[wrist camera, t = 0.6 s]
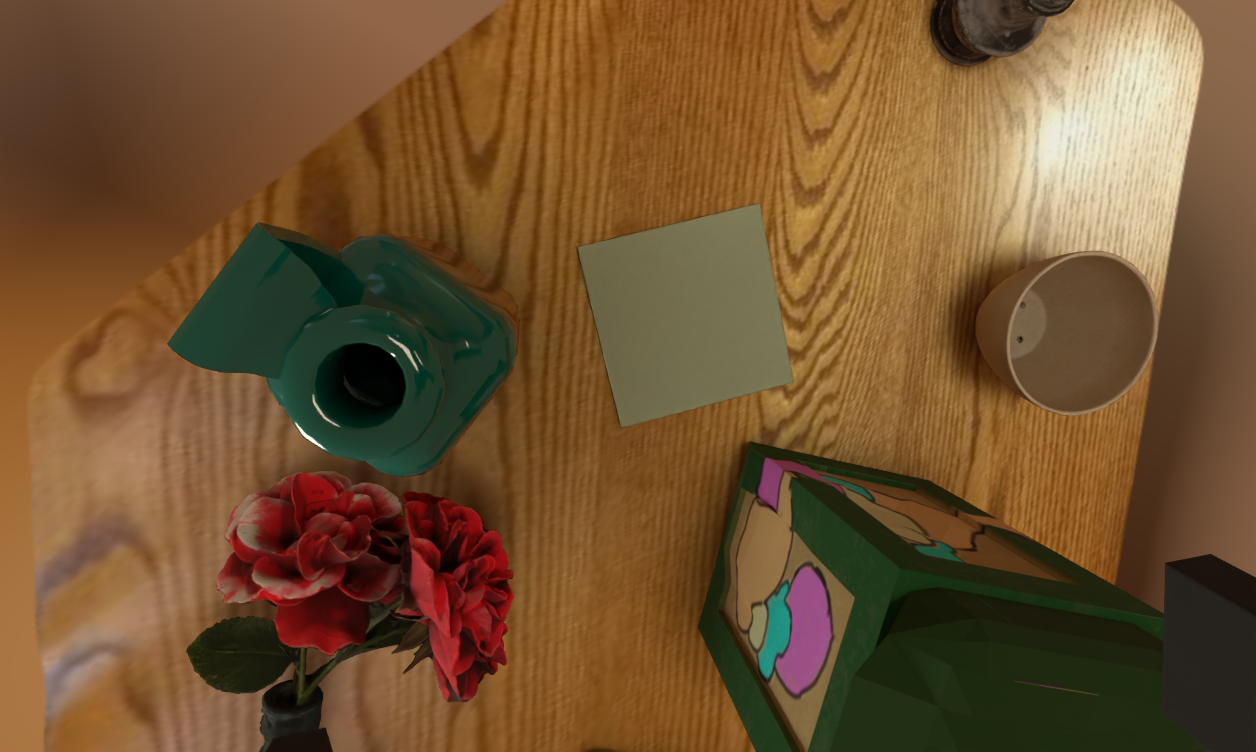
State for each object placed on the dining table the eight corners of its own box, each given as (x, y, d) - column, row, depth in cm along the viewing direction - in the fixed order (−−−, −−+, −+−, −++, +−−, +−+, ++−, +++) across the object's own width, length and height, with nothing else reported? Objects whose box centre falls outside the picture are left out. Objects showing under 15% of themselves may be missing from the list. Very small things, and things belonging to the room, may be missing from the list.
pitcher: (532, 311, 46) (541, 363, 25) (452, 415, 46) (390, 558, 25) (402, 211, 44) (286, 173, 22) (319, 322, 44) (126, 389, 23)
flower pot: (930, 270, 49) (997, 274, 42) (1063, 235, 50) (1151, 233, 43) (951, 409, 51) (1019, 434, 44) (1079, 373, 52) (1165, 392, 45)
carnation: (331, 828, 58) (387, 411, 51) (500, 989, 49) (597, 505, 42) (106, 978, 45) (142, 442, 38) (280, 1238, 36) (368, 590, 29)
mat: (576, 247, 46) (577, 247, 45) (757, 203, 47) (759, 203, 46) (620, 426, 48) (621, 428, 48) (791, 381, 49) (794, 382, 49)
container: (893, 670, 54) (1197, 1013, 30) (667, 633, 51) (799, 982, 27) (953, 485, 52) (1328, 691, 28) (721, 435, 49) (916, 617, 25)
